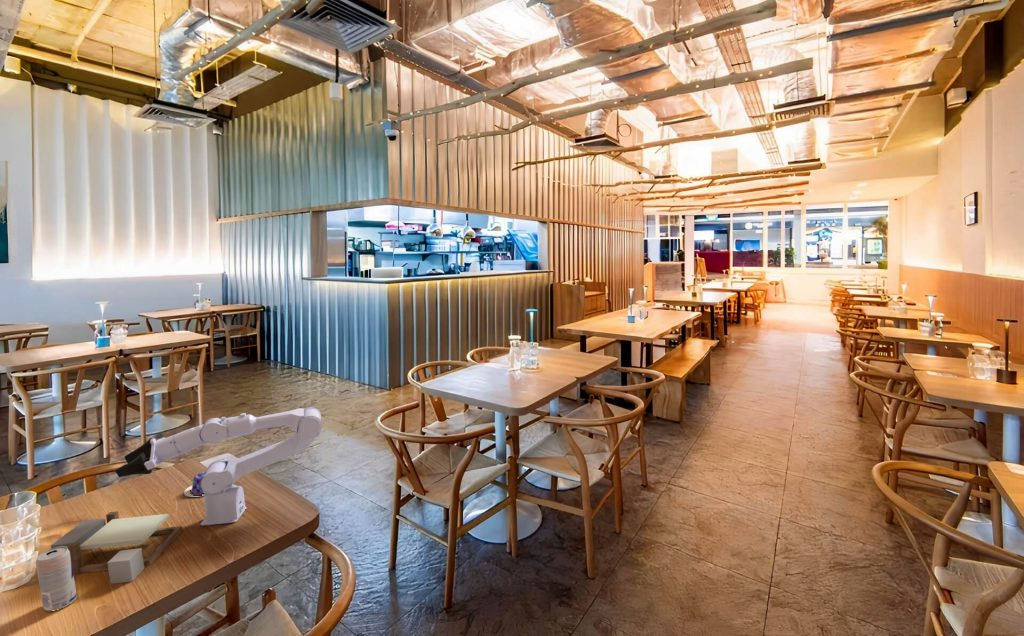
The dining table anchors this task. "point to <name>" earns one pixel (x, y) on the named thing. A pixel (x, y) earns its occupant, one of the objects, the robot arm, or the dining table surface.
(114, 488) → the dining table surface
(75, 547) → the frame
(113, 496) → the dining table surface
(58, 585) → the energy drink
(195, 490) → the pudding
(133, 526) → the flap
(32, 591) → the dining table surface
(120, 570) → the stone
